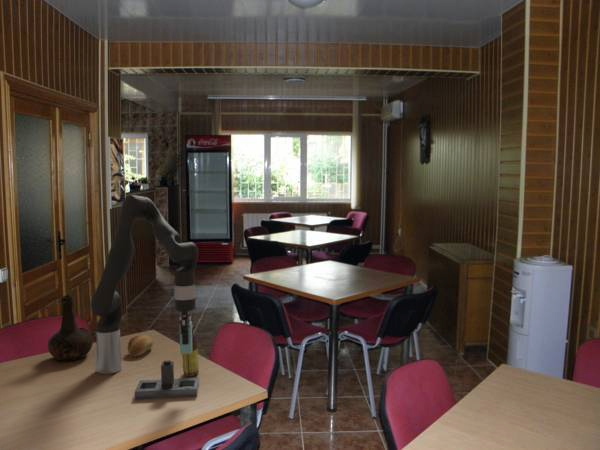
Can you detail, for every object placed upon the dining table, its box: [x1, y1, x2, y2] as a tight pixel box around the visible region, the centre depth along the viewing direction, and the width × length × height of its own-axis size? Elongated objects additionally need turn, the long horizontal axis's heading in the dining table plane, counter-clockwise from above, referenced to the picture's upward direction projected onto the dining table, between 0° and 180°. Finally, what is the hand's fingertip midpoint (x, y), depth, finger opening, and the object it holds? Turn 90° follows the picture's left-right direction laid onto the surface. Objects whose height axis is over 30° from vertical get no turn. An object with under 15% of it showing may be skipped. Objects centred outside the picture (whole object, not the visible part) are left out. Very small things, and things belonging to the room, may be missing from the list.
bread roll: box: [127, 334, 154, 358], centre depth 230 cm, size 10×15×8 cm, turn 173°
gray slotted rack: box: [134, 359, 200, 401], centre depth 187 cm, size 22×10×12 cm, turn 97°
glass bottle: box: [47, 294, 94, 362], centre depth 222 cm, size 18×18×28 cm
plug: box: [179, 320, 193, 355], centre depth 187 cm, size 4×4×12 cm
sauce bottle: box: [181, 325, 200, 377], centre depth 204 cm, size 7×6×20 cm
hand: (186, 341), depth 187 cm, fingers closed on plug, 4 cm apart
